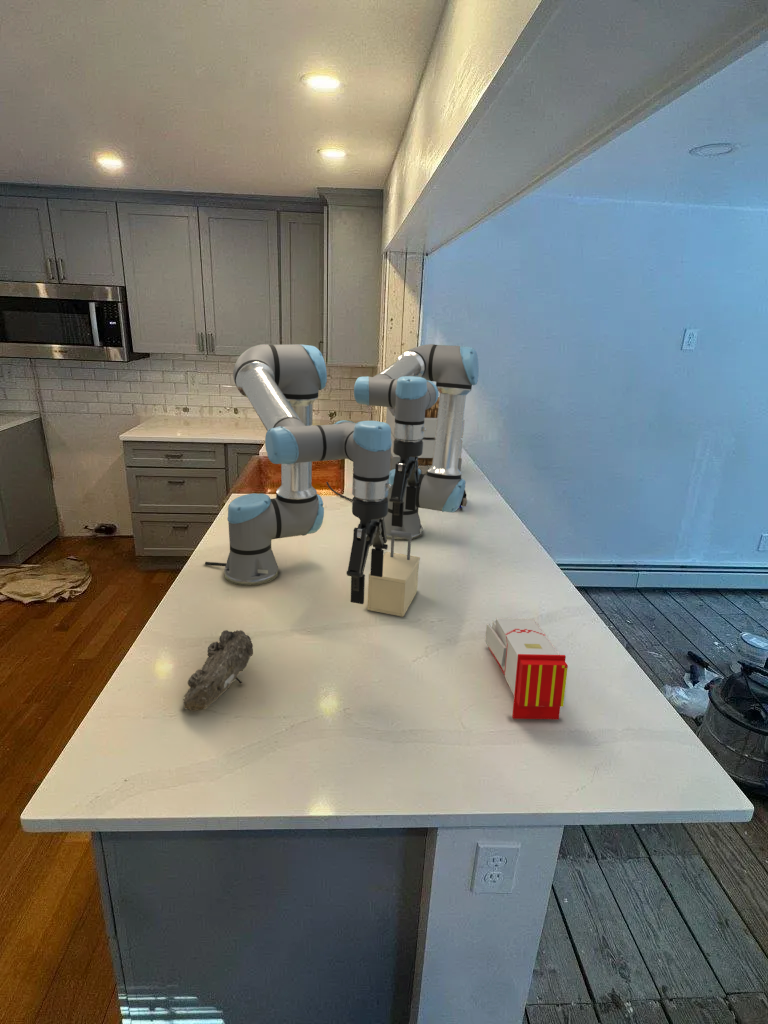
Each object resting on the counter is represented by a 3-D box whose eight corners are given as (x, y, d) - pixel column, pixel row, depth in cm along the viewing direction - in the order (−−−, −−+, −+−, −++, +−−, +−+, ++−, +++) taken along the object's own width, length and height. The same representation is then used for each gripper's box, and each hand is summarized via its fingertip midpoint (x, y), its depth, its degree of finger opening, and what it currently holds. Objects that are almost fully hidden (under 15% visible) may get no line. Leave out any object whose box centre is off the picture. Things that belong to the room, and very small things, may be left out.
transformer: (382, 463, 289) (386, 382, 275) (445, 464, 293) (451, 384, 279) (390, 482, 257) (394, 392, 243) (460, 483, 261) (468, 394, 247)
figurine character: (467, 515, 225) (461, 499, 238) (469, 498, 221) (463, 482, 235) (450, 514, 224) (445, 498, 238) (452, 497, 221) (447, 482, 234)
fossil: (205, 632, 127) (252, 602, 122) (234, 661, 130) (282, 632, 125) (161, 704, 108) (216, 672, 103) (197, 736, 111) (252, 705, 106)
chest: (383, 586, 162) (385, 555, 159) (416, 592, 159) (419, 561, 156) (367, 610, 149) (368, 577, 146) (403, 616, 146) (405, 583, 143)
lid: (385, 554, 159) (387, 525, 156) (419, 560, 157) (421, 530, 154) (368, 577, 146) (369, 545, 143) (405, 583, 143) (407, 551, 140)
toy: (531, 603, 136) (576, 661, 106) (526, 655, 139) (569, 725, 109) (481, 602, 135) (512, 660, 106) (477, 654, 138) (507, 724, 109)
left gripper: (369, 518, 106) (365, 618, 113) (403, 483, 128) (398, 568, 135) (331, 513, 107) (330, 611, 115) (371, 479, 130) (368, 563, 137)
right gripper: (410, 451, 132) (405, 535, 139) (433, 431, 154) (427, 505, 162) (379, 447, 134) (376, 531, 141) (406, 429, 156) (402, 501, 164)
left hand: (367, 588), depth 125 cm, fingers open, 13 cm apart
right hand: (403, 517), depth 151 cm, fingers open, 13 cm apart
